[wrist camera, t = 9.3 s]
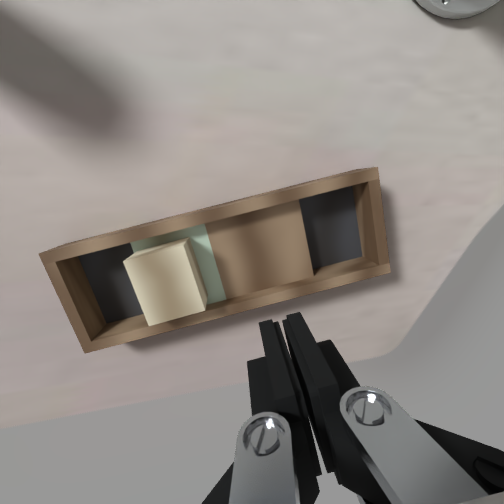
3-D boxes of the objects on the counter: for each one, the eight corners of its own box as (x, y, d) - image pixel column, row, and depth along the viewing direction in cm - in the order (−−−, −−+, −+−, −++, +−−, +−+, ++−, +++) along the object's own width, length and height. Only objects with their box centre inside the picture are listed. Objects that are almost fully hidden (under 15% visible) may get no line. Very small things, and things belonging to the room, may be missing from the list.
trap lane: (357, 169, 28) (377, 166, 24) (369, 261, 30) (390, 272, 27) (65, 243, 27) (38, 253, 23) (103, 331, 30) (84, 353, 26)
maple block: (189, 236, 26) (183, 245, 22) (208, 294, 27) (205, 310, 24) (136, 251, 26) (123, 261, 22) (158, 308, 27) (148, 326, 24)
